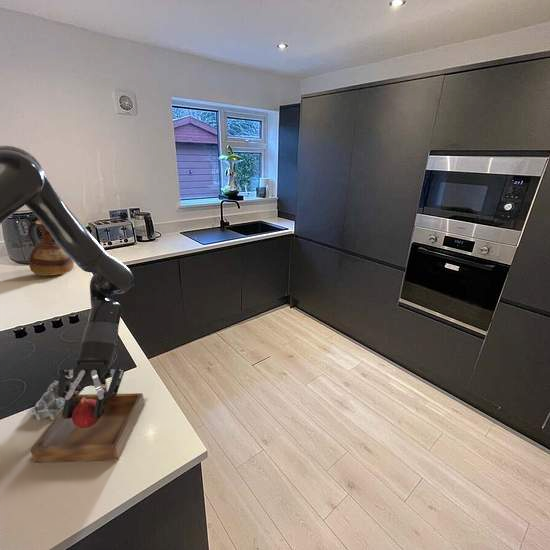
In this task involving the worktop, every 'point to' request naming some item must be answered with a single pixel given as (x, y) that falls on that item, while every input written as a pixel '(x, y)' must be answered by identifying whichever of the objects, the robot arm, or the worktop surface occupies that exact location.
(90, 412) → the onion
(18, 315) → the worktop surface
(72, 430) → the wooden tray
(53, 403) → the egg carton
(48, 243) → the ceramic pitcher
